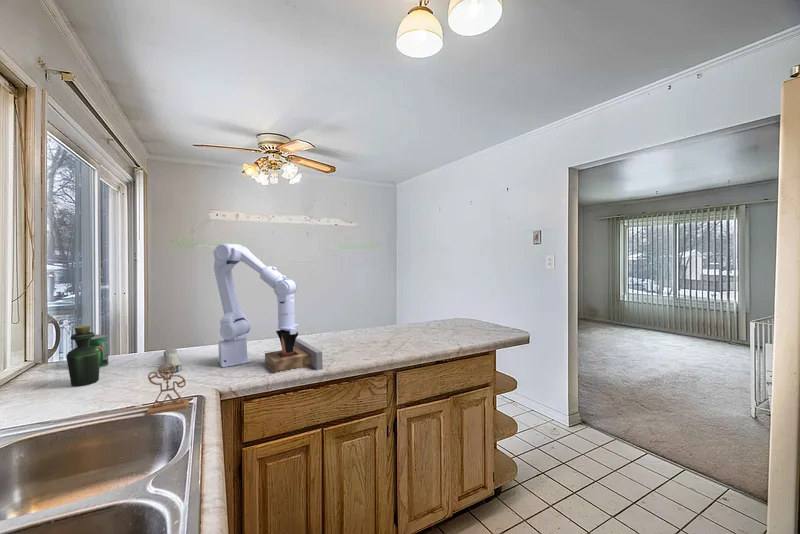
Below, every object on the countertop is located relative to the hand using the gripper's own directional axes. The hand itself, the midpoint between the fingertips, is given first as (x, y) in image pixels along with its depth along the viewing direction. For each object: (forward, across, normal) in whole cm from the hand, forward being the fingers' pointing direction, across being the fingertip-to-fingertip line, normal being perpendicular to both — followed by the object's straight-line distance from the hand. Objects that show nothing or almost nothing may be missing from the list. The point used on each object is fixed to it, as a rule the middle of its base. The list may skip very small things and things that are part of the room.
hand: (287, 350), depth 125 cm
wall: (+5, 0, -7) cm, 9 cm away
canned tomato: (+5, +43, +57) cm, 72 cm away
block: (+5, 0, 0) cm, 5 cm away
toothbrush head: (+6, +28, +34) cm, 44 cm away
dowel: (+2, 0, 0) cm, 2 cm away
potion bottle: (+5, +22, +57) cm, 62 cm away
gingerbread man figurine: (+5, -17, +36) cm, 40 cm away
